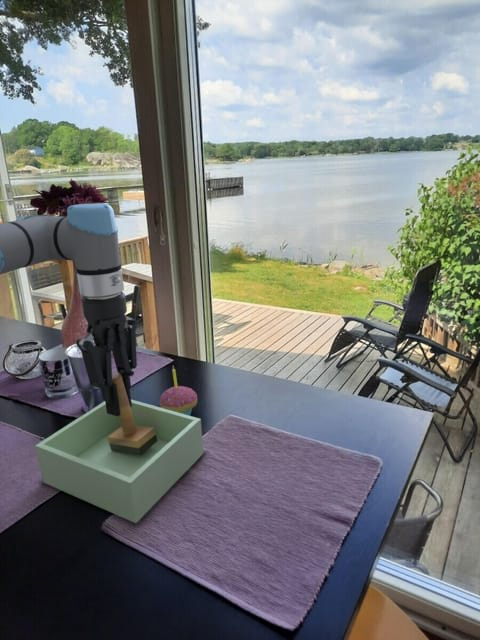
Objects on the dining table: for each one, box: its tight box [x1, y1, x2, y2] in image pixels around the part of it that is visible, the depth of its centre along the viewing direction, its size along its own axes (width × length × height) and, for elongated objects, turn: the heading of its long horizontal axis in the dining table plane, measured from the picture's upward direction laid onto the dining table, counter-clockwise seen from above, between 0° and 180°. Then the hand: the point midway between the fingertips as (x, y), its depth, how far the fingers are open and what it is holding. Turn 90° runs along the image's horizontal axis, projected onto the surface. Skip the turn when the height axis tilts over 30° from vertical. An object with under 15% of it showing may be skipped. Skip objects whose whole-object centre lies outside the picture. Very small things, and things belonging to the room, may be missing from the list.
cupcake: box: [159, 365, 198, 416], centre depth 98 cm, size 9×8×12 cm
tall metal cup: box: [64, 340, 104, 414], centre depth 100 cm, size 11×11×30 cm
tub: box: [34, 399, 204, 524], centre depth 83 cm, size 22×20×8 cm
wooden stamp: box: [107, 373, 157, 455], centre depth 85 cm, size 8×5×15 cm, turn 61°
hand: (119, 409), depth 86 cm, fingers closed on wooden stamp, 3 cm apart
